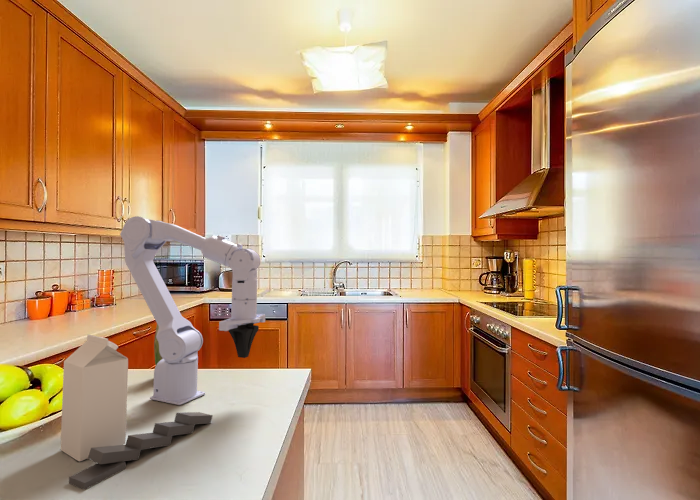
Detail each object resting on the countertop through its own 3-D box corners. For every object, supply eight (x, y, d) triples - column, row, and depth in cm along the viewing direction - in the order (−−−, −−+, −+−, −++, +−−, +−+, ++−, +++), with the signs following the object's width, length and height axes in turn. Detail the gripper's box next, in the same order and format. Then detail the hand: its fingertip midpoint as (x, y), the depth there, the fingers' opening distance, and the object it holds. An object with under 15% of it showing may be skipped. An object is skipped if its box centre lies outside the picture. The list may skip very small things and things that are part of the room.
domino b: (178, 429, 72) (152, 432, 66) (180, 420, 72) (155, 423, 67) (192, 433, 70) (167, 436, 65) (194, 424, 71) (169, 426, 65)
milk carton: (79, 463, 59) (83, 342, 60) (59, 450, 63) (64, 337, 64) (125, 444, 65) (129, 335, 66) (105, 434, 69) (109, 331, 70)
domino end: (109, 466, 59) (68, 487, 54) (110, 457, 59) (69, 476, 54) (125, 472, 58) (84, 493, 52) (125, 462, 58) (84, 483, 52)
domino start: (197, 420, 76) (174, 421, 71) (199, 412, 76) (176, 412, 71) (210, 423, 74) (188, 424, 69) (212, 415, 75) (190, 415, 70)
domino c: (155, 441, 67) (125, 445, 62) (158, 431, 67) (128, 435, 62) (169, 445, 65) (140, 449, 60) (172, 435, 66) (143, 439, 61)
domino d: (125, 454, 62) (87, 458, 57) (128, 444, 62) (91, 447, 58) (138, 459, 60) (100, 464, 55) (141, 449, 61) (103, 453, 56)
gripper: (237, 302, 80) (236, 366, 80) (275, 297, 94) (274, 352, 93) (212, 301, 83) (210, 362, 82) (252, 296, 96) (251, 349, 96)
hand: (243, 356), depth 88 cm, fingers closed
